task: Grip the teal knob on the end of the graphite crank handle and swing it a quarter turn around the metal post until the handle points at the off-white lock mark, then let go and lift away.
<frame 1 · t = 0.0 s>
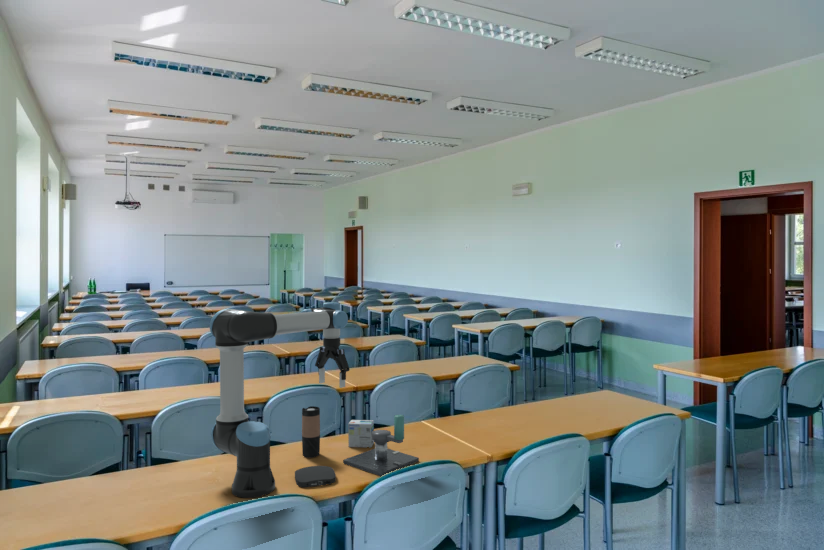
hand: (332, 385, 248), 28 cm above the table, tool pointing down, fingers open, 13 cm apart
post base: (381, 462, 230), on the table
crank handle: (388, 427, 227), point 15 cm above the table, hinge at 0.0°
light bulb box: (361, 445, 252), on the table
media streaming box: (315, 480, 213), on the table
travel mug: (311, 455, 239), on the table
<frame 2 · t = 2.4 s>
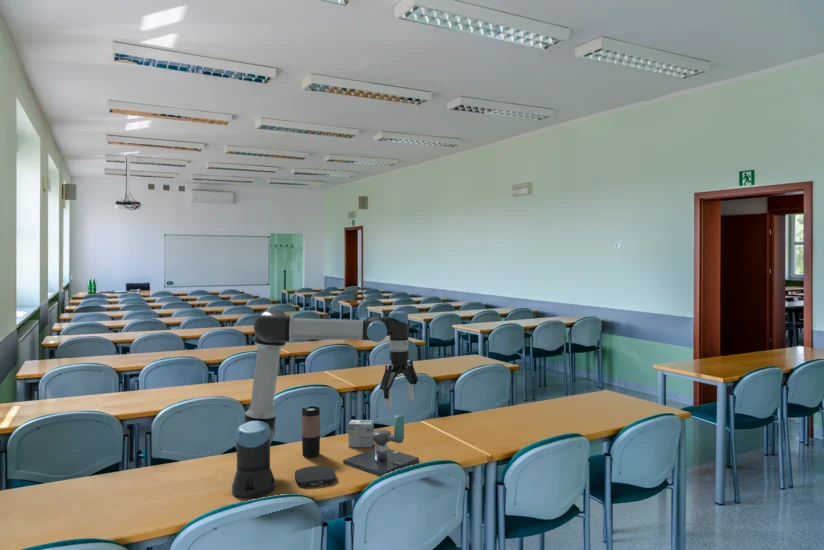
hand: (399, 403, 223), 26 cm above the table, tool pointing down, fingers open, 13 cm apart
nothing on the table moved.
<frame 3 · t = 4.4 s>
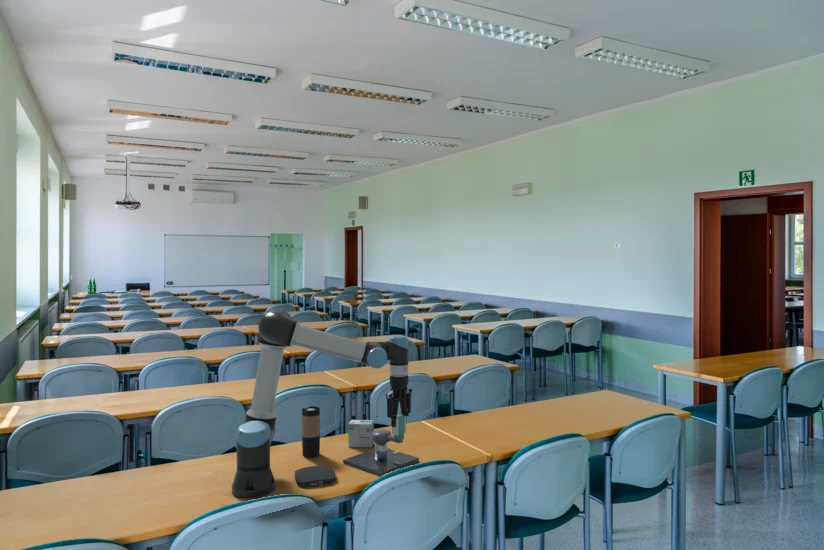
hand: (399, 433, 223), 14 cm above the table, tool pointing down, fingers closed on crank handle, 4 cm apart
crank handle: (388, 427, 227), point 15 cm above the table, hinge at 0.0°, touching gripper
everything else where it was.
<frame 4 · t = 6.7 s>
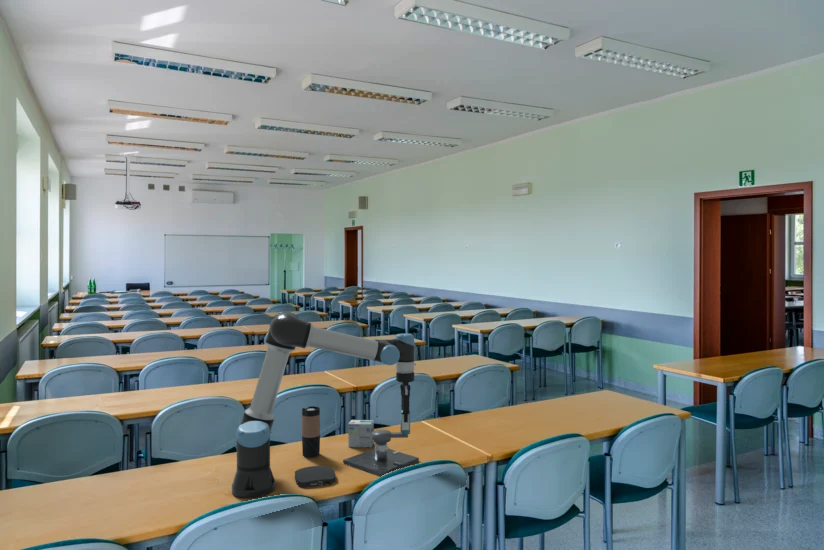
hand: (405, 427, 230), 14 cm above the table, tool pointing down, fingers closed on crank handle, 4 cm apart
crank handle: (390, 425, 230), point 15 cm above the table, hinge at 43.4°, touching gripper
everything else where it was.
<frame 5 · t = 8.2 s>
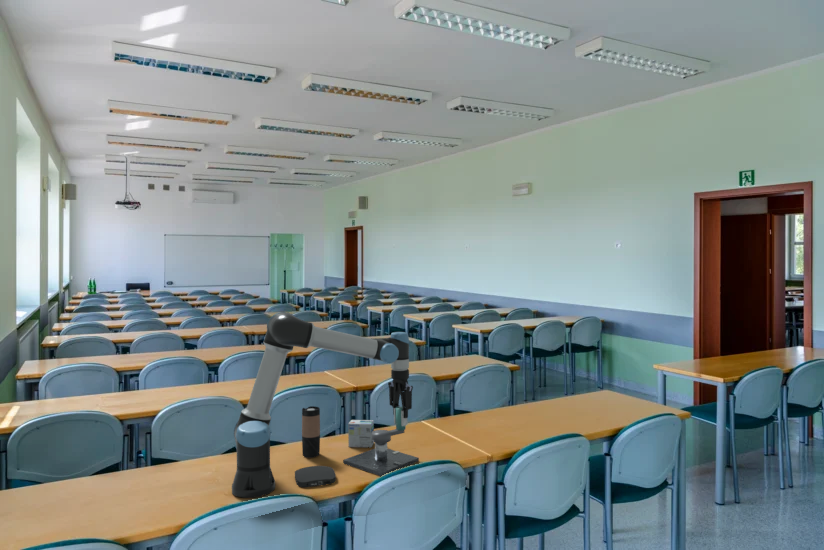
hand: (400, 424, 236), 14 cm above the table, tool pointing down, fingers closed on crank handle, 4 cm apart
crank handle: (389, 424, 232), point 15 cm above the table, hinge at 77.6°, touching gripper
everything else where it was.
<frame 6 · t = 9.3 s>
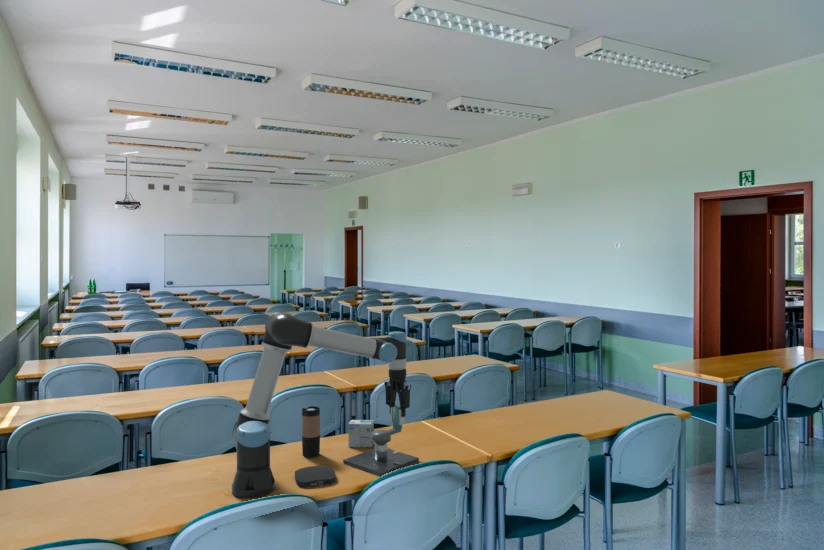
hand: (397, 423, 237), 14 cm above the table, tool pointing down, fingers closed on crank handle, 4 cm apart
crank handle: (387, 423, 233), point 15 cm above the table, hinge at 89.3°, touching gripper
everything else where it was.
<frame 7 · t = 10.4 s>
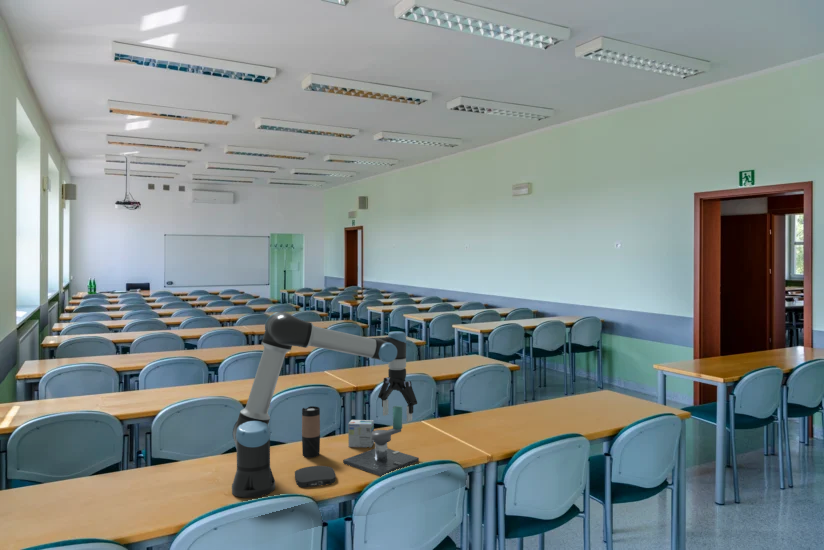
hand: (397, 418, 237), 16 cm above the table, tool pointing down, fingers open, 13 cm apart
crank handle: (387, 423, 233), point 15 cm above the table, hinge at 89.3°
everything else where it was.
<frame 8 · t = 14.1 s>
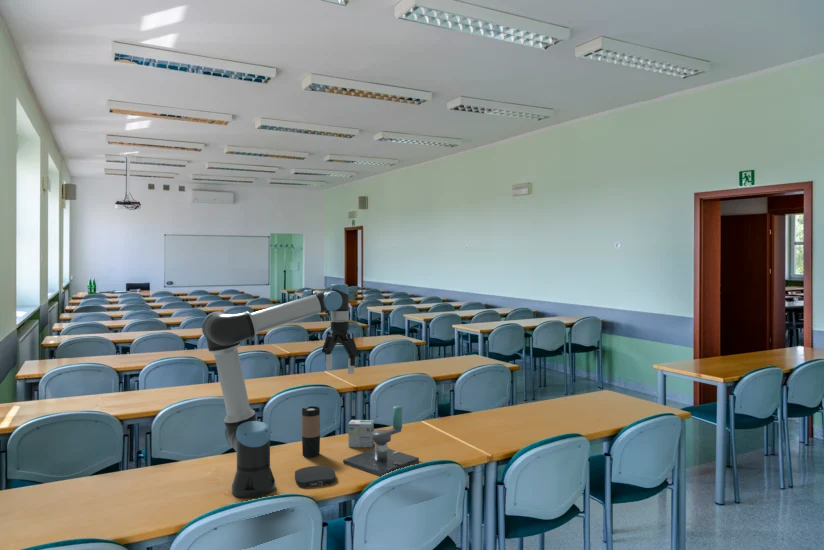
hand: (340, 371, 234), 37 cm above the table, tool pointing down, fingers open, 13 cm apart
nothing on the table moved.
at the end: crank handle at +89° (first picture: +0°); the gripper is holding nothing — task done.
